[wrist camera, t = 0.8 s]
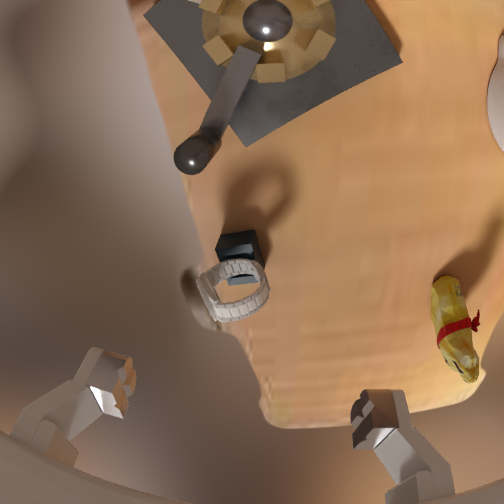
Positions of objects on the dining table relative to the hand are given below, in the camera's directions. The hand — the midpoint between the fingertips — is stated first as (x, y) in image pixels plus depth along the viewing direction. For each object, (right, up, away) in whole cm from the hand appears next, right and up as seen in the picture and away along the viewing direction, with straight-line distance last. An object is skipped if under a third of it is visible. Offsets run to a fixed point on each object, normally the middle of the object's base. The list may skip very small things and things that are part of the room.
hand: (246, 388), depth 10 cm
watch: (-1, +5, +30) cm, 31 cm away
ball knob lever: (0, +22, +15) cm, 27 cm away
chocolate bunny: (+29, -2, +31) cm, 42 cm away
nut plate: (+2, +26, +15) cm, 30 cm away
